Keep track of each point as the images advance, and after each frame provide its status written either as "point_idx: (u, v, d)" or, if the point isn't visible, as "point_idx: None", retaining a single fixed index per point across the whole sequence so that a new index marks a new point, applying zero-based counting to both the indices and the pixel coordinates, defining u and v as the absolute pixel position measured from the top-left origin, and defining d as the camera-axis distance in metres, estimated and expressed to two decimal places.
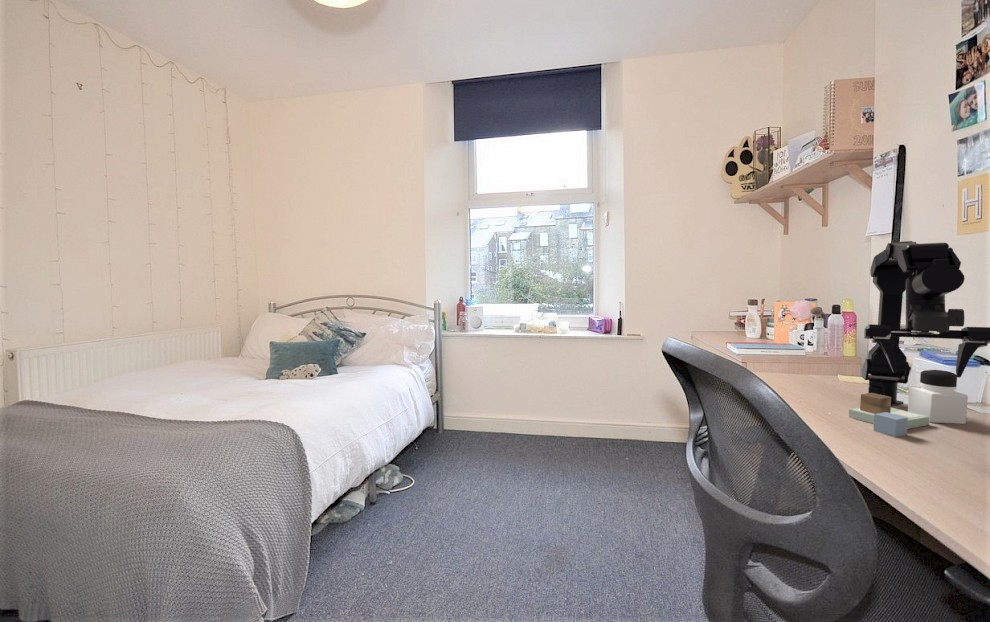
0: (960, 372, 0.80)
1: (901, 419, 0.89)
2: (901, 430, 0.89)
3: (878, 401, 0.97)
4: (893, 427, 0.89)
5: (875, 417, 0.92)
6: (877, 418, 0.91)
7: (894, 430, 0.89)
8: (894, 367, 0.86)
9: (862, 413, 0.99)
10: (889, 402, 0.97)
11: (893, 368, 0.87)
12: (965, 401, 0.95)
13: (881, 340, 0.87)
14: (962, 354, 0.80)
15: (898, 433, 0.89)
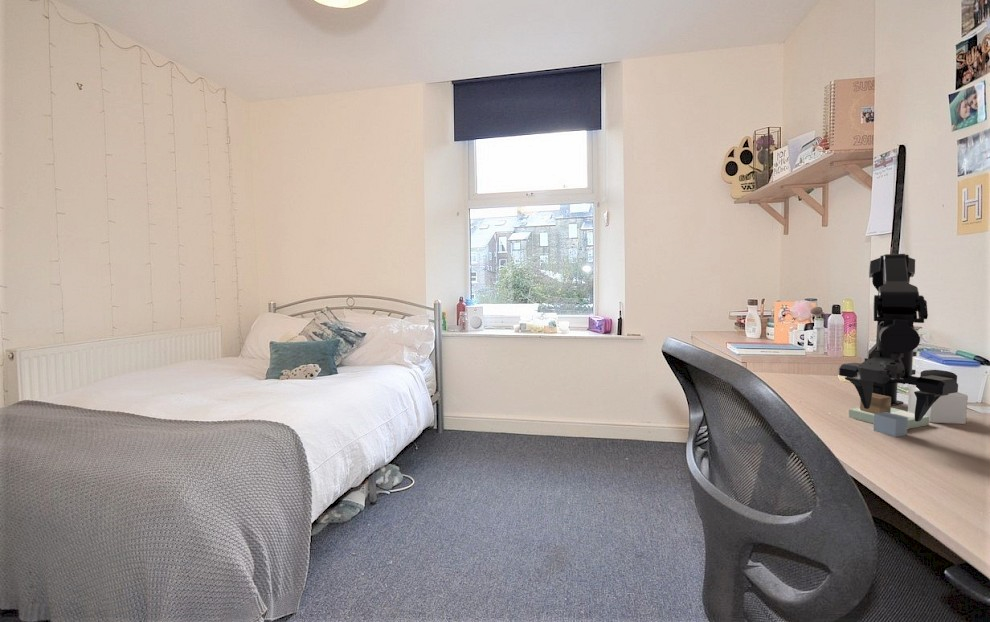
0: (917, 417, 0.86)
1: (901, 419, 0.89)
2: (901, 430, 0.89)
3: (878, 401, 0.97)
4: (893, 427, 0.89)
5: (875, 417, 0.92)
6: (877, 418, 0.91)
7: (894, 430, 0.89)
8: (864, 404, 0.95)
9: (862, 413, 0.99)
10: (889, 402, 0.97)
11: (864, 405, 0.95)
12: (965, 401, 0.95)
13: (849, 380, 0.96)
14: (917, 401, 0.85)
15: (898, 433, 0.89)
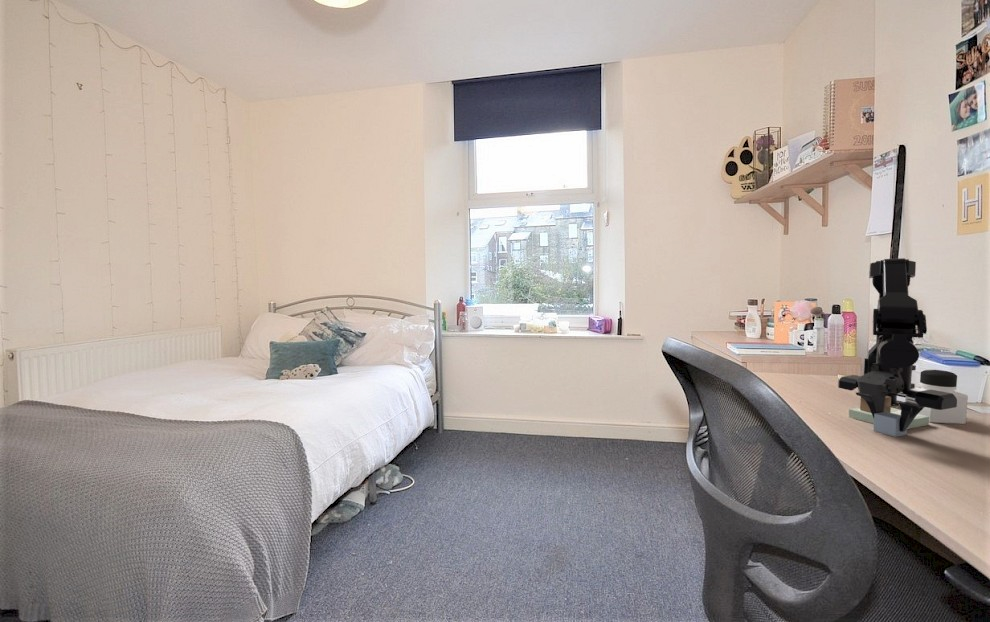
0: (902, 427, 0.88)
1: None
2: None
3: None
4: (893, 427, 0.89)
5: (875, 417, 0.92)
6: (877, 418, 0.91)
7: (894, 430, 0.89)
8: None
9: (862, 413, 0.99)
10: (889, 402, 0.97)
11: None
12: (965, 401, 0.95)
13: (860, 395, 0.94)
14: (902, 412, 0.88)
15: (898, 433, 0.89)
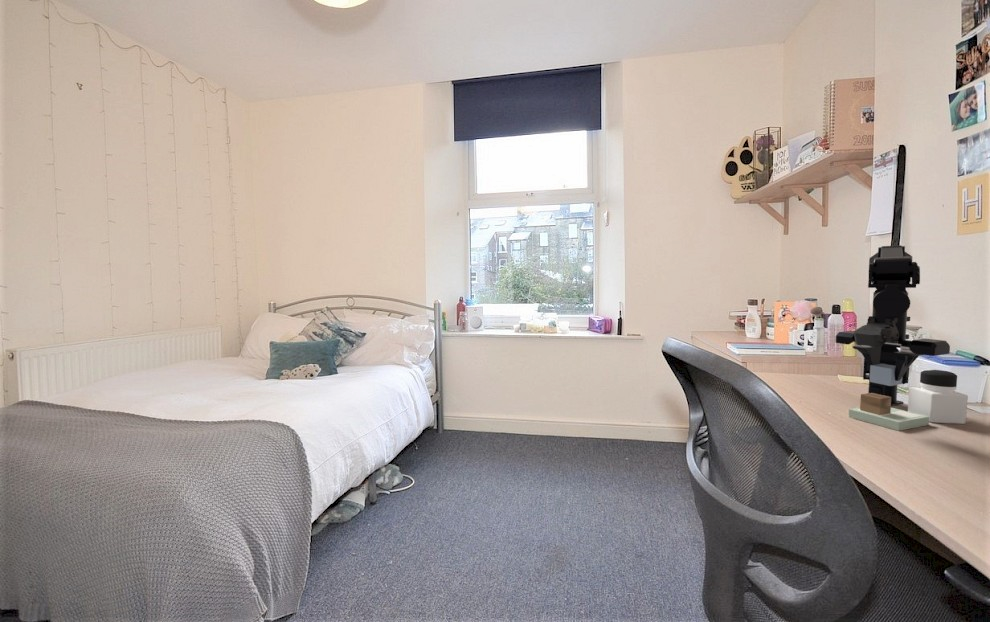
0: (897, 376, 0.91)
1: None
2: None
3: (878, 401, 0.97)
4: (888, 377, 0.92)
5: (871, 368, 0.95)
6: (873, 369, 0.94)
7: (889, 379, 0.92)
8: None
9: (862, 413, 0.99)
10: (889, 402, 0.97)
11: None
12: (965, 401, 0.95)
13: (857, 348, 0.97)
14: (897, 362, 0.91)
15: (893, 382, 0.92)
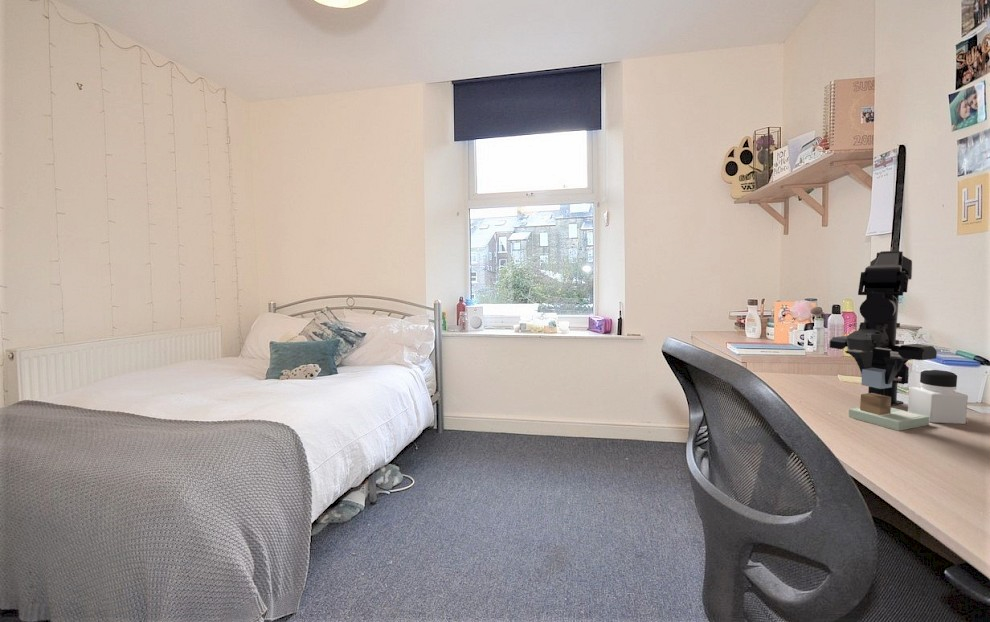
0: (887, 380, 0.96)
1: None
2: None
3: (878, 401, 0.97)
4: (879, 380, 0.96)
5: (863, 372, 0.99)
6: (865, 372, 0.99)
7: (880, 382, 0.96)
8: None
9: (862, 413, 0.99)
10: (889, 402, 0.97)
11: None
12: (965, 401, 0.95)
13: (849, 353, 1.01)
14: (887, 366, 0.95)
15: (884, 385, 0.96)
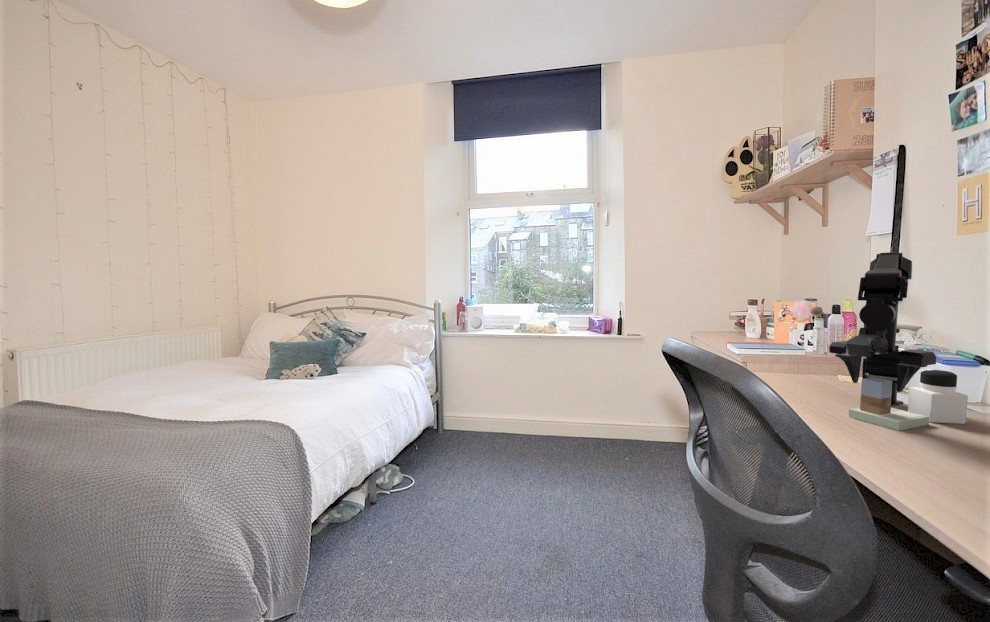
0: (899, 387, 0.94)
1: (886, 382, 0.96)
2: (886, 392, 0.97)
3: (878, 401, 0.97)
4: (879, 390, 0.96)
5: (862, 381, 0.99)
6: (864, 382, 0.99)
7: (879, 392, 0.96)
8: (853, 379, 1.03)
9: (862, 413, 0.99)
10: (889, 402, 0.97)
11: (852, 379, 1.03)
12: (965, 401, 0.95)
13: (839, 356, 1.04)
14: (899, 373, 0.93)
15: (883, 395, 0.96)
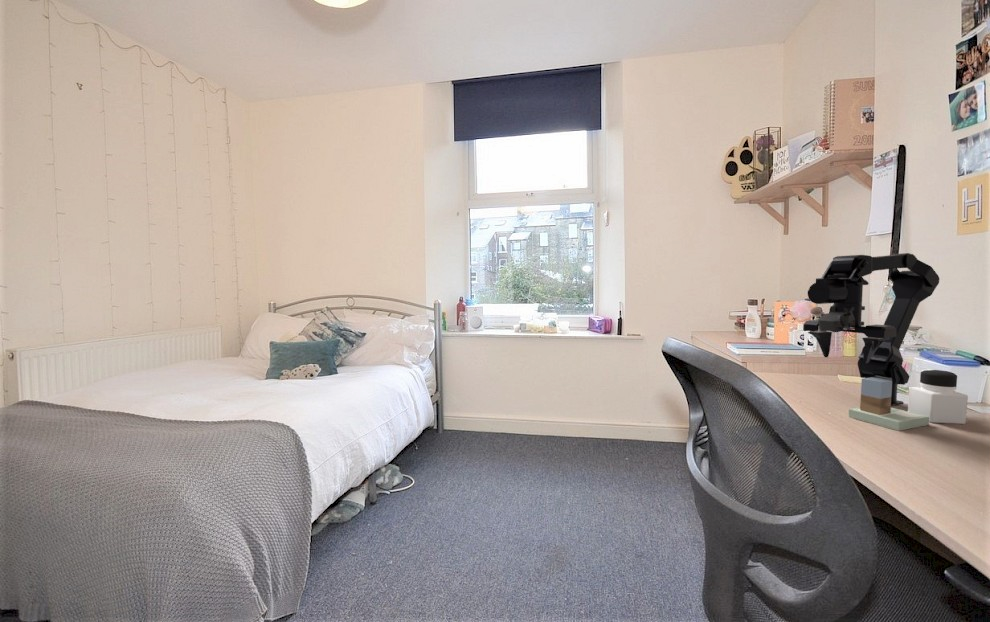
0: (865, 359, 1.04)
1: (886, 382, 0.96)
2: (886, 392, 0.97)
3: (878, 401, 0.97)
4: (879, 390, 0.96)
5: (862, 381, 0.99)
6: (864, 382, 0.99)
7: (879, 392, 0.96)
8: (824, 353, 1.12)
9: (862, 413, 0.99)
10: (889, 402, 0.97)
11: (824, 354, 1.13)
12: (965, 401, 0.95)
13: (811, 333, 1.13)
14: (865, 346, 1.03)
15: (883, 395, 0.96)
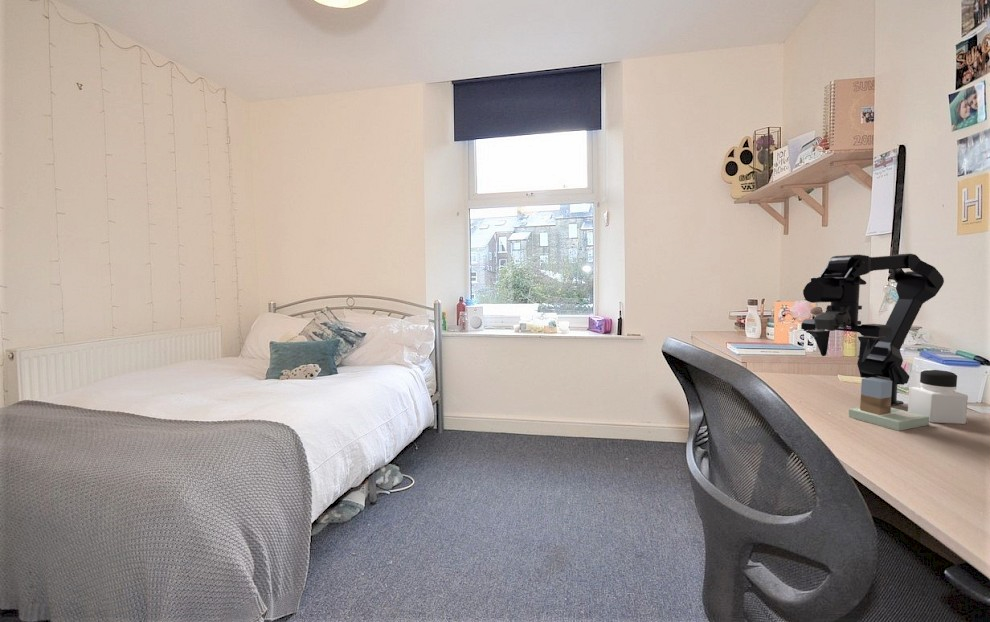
0: (861, 358, 1.05)
1: (886, 382, 0.96)
2: (886, 392, 0.97)
3: (878, 401, 0.97)
4: (879, 390, 0.96)
5: (862, 381, 0.99)
6: (864, 382, 0.99)
7: (879, 392, 0.96)
8: (821, 352, 1.14)
9: (862, 413, 0.99)
10: (889, 402, 0.97)
11: (821, 353, 1.14)
12: (965, 401, 0.95)
13: (809, 332, 1.15)
14: (861, 345, 1.04)
15: (883, 395, 0.96)
